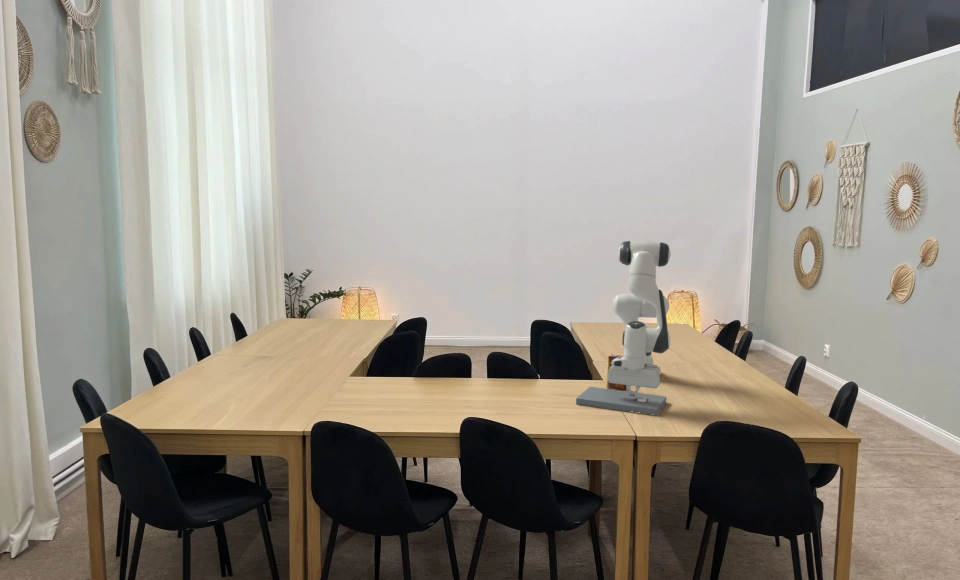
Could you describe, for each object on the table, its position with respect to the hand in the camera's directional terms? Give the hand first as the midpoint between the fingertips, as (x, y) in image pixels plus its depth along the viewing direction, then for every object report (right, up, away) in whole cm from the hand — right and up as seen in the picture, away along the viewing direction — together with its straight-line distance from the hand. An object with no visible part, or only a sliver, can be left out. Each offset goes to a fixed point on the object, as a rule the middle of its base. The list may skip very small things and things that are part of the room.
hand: (632, 396), depth 271 cm
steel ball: (+3, -2, -1) cm, 4 cm away
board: (-4, -3, +2) cm, 6 cm away
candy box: (-2, -1, +22) cm, 22 cm away
